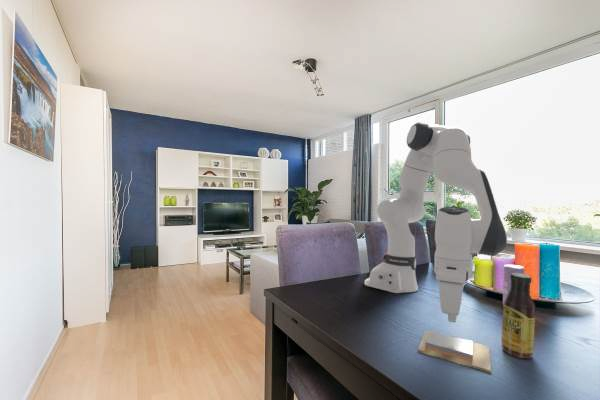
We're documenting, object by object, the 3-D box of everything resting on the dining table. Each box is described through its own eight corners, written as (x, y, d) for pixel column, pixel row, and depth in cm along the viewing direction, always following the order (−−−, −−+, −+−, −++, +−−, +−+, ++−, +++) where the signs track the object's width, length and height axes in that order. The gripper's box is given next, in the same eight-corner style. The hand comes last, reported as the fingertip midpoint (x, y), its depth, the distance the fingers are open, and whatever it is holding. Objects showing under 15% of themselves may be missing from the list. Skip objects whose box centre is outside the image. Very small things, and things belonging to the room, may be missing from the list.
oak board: (418, 351, 68) (418, 349, 68) (425, 332, 78) (425, 330, 78) (491, 373, 60) (491, 370, 60) (488, 348, 70) (488, 346, 70)
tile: (429, 336, 75) (425, 348, 69) (429, 330, 75) (425, 342, 69) (472, 347, 70) (472, 361, 63) (472, 341, 70) (472, 355, 63)
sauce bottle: (495, 346, 71) (496, 270, 71) (517, 346, 72) (518, 270, 72) (517, 361, 65) (518, 278, 65) (541, 360, 65) (543, 277, 65)
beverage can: (527, 311, 94) (528, 268, 94) (508, 310, 96) (509, 267, 96) (517, 305, 100) (518, 264, 100) (499, 303, 101) (500, 263, 101)
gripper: (443, 259, 83) (442, 305, 83) (435, 274, 66) (434, 332, 65) (467, 262, 79) (466, 309, 79) (465, 278, 62) (465, 339, 62)
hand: (452, 320), depth 72 cm, fingers closed
